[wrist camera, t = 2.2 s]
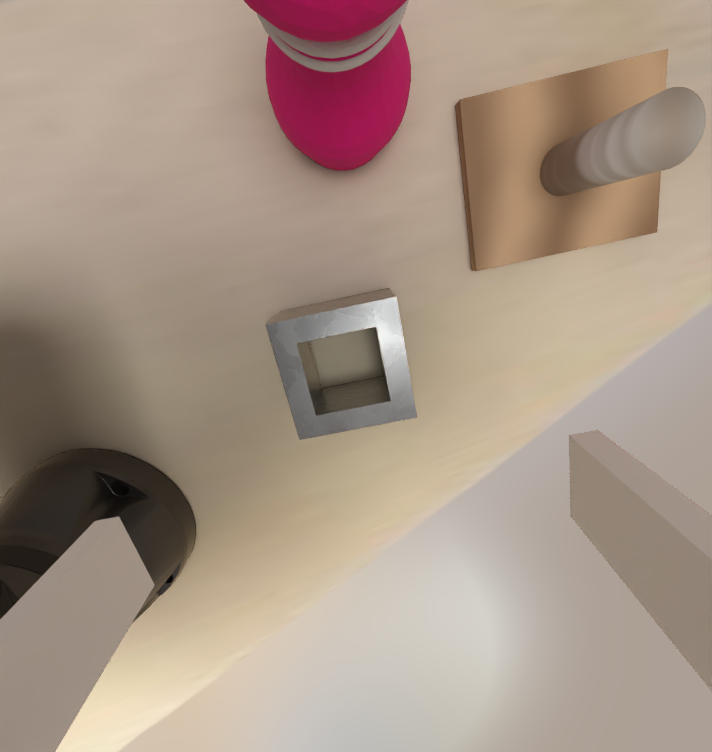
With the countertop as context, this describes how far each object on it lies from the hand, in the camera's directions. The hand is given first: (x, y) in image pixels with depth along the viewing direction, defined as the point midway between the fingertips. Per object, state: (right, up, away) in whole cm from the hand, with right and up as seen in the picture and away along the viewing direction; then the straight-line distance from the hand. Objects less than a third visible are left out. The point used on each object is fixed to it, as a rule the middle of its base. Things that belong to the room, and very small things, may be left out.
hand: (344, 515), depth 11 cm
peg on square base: (+13, +17, +13) cm, 26 cm away
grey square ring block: (0, +6, +17) cm, 18 cm away
